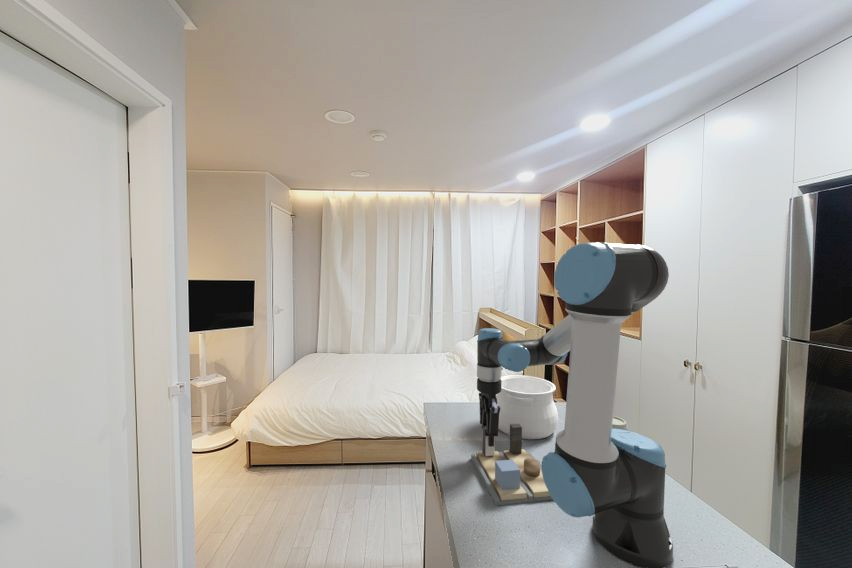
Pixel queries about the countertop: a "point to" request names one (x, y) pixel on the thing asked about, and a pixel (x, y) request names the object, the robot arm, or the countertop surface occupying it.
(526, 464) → the brown rounded piece
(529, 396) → the pot
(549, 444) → the countertop surface
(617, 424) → the coffee cup
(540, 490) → the strip
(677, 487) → the countertop surface
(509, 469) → the blue block
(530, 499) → the lane board
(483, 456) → the strip
